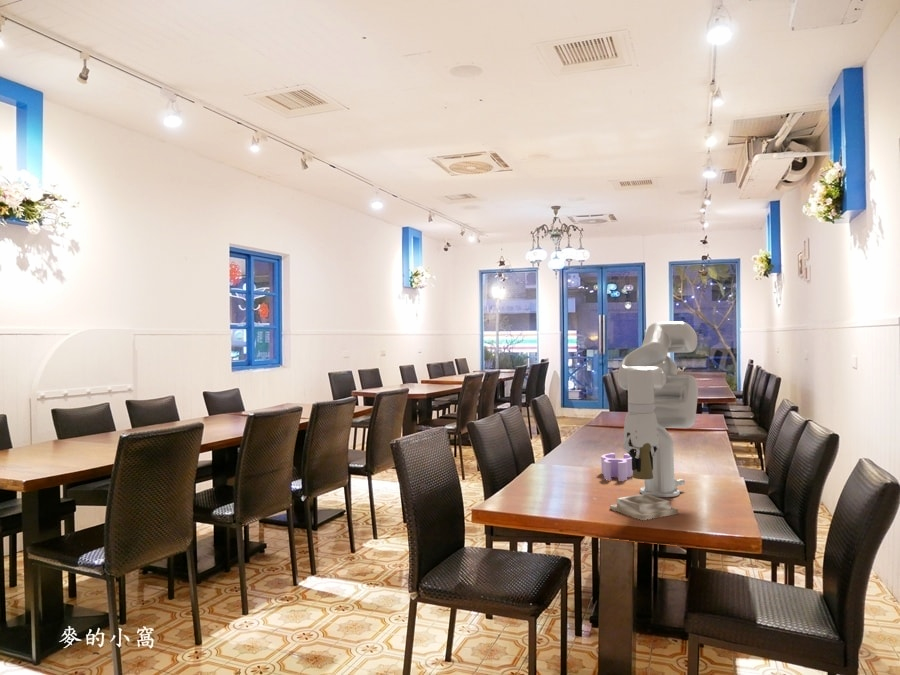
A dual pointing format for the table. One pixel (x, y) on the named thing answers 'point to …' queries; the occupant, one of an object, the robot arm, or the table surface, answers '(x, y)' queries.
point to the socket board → (644, 507)
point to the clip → (616, 466)
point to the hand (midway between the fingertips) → (642, 469)
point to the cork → (644, 464)
